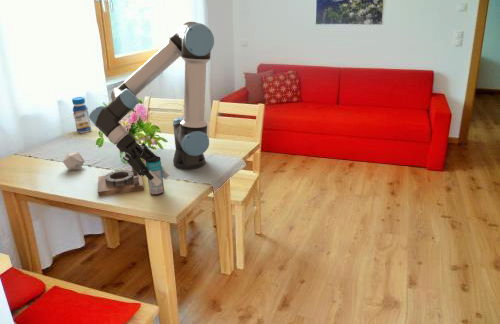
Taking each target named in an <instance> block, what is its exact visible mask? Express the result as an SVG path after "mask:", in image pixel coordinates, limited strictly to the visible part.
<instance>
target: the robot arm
mask: <svg viewBox="0 0 500 324" xmlns="http://www.w3.org/2000/svg"><path fill="white" fill-rule="evenodd" d="M214 37H215V36H214V34H213V32H212V31H211V29H210V28H209V27H208V26H207V25H205V24H203V23H200V22H195V21H188V22H184V23H183V24H182V25H180V27H179V28H177V30H175V32H174V33H173V34H171V36H169V37H168V38H167V42H166V44H164V45H163V46H161V48H160V49H159V50H158V51H157V52H156V53H154V54H153V55H152V56H151V57H150V58H149V59H148V60H146V61H145V62H144V64H143V65H142V64H141V66H140V67H138V68H137V69H136V70H135V71H134V72H133V73H132V74H131V75H130V76H129V77H128V78H127V79H125V80H124V82H122V83H121V84H120V85H118V86H116V87H114V88H113V89H112V91H111V93H110V98H111V102H109V104H107V105H106V106H105V105H98V106H96V108H94V109H93V110H92V111H91V112H90V113H89V120H90V122H92V124H93V125H94V126H95V127H96V128H97V129H98V130H99V131H100V132H101V133H102V134H103V135H105V137H107V139H108V140H109V141H111V143H112V144H113V145H114V146H116V148H117V149H118V150H119V151H120V152H121V153H124V156H123V157H122V159H123V160H124V161H125V162H127V163H128V165H129V166H130V167H131V169H132V168H133V169H134V170H135V171H136V172H137V173H138V174H139V175H140V176H142V177H146V178H147V180H148V179H149V180H151V181H152V182H153V183H154V184H155V185H156V186H158V185H159V184H160V183H161V181H160V180H159V179H158V178H157V177H156V176H155V174H154V173H153V172H152V171H151V170H150V171H149V172H148V169H147V168H146V164H145V163H144V161H145V159H146V158H148V157H151V156H157V155H156V154H155V153H154V152H153V151H152V150H151V149H149V147H148V146H147V145H146V143H144V142H142V143H141V144H139V143H138V142H136V141H137V139H136V138H135V137H134V136H133V134H131V133H129V131H128V130H127V129H126V128H125V126H123V124H122V123H120V122H121V121H122V120H123V119H124V118H125V117H127V116H126V115H128V114H129V113H130V112H131V111H132V110H133V109H135V108H136V106H137V105H138V104H139V102H140V100H139V98H138V96H137V95H139V94H140V93H141V92H142V91H143V90H144V89H146V88H147V87H148V86H149V85H150V84H151V83H153V81H155V79H156V78H158V77H159V76H160V75H161V74H162V73H163V72H165V71H166V70H167V69H168V68H169V67H170V66H171V65H173V64H174V63H175V62H176V60H178V59H179V58H182V60H183V61H184V62H185V63H184V99H183V101H184V102H183V116H177V117H175V118H173V120H172V127H173V133H174V145H175V152H174V156H173V159H172V163H173V167H175V169H180V170H195V169H198V168H202V167H203V166H204V165H205V164H206V158H205V155H204V153H206V151H208V149H209V146H210V137H209V136H208V122H207V121H206V120H205V109H206V108H205V104H206V85H207V84H206V81H207V80H206V79H207V63H208V62H210V60H211V55H212V53H211V52H212V50H213V48H214V45H215V38H214ZM142 159H143V160H144V161H143V160H142ZM161 167H162V176H163V180H166V179H168V178H169V176H170V174H169V173H168V172H167V171H166V170H165V168H164V167H163V166H162V165H161ZM140 171H141V172H140Z"/></svg>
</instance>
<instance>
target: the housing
mask: <svg viewBox="0 0 500 324" xmlns="http://www.w3.org/2000/svg"><path fill="white" fill-rule="evenodd" d="M140 172H141V171H140ZM142 177H143V176H142V175H141V176H140V175H139V174H138V173H137V172H136V171H135V170H134V169H133V168H132V167H131V170H129V169H119V170H114V171H111V172H109V173H107V174H105V175H98V177H97V178H98V179H97V196H98V197H105V196H109V195H117V194H123V193H130V192H137V191H142V190H144V183H143V178H142Z"/></svg>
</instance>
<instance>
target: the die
mask: <svg viewBox="0 0 500 324" xmlns="http://www.w3.org/2000/svg"><path fill="white" fill-rule="evenodd" d="M85 160H86V159H84V157H83V156H82V155H81V152H68V153H67V154H66V155H65V157H64V159H63V161H62V163H63V164H64V165H65V167H66V168H67V170H68V171H80V170H81V169H82V167H83V165H84V163H85Z"/></svg>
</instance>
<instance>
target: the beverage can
mask: <svg viewBox="0 0 500 324" xmlns="http://www.w3.org/2000/svg"><path fill="white" fill-rule="evenodd" d="M144 161H145V166H146V168H147V169H148V172H149V171H150V170H151V171H152V172H153V173H154V174H155V176H156V177H157V178H158V179H159V180H160V181H161V183H160V184H159V185H158V186H156V185H155V184H154V183H153V182H152V181H151V180H149V179H148V178H147V183H148V184H147V185H148V188H149V189H148V191H149V194H150V195H152V196H159V195H162V194H164V191H165V187H164V178H163V176H162V167H163V166H162V162H161V157H160V156H157V155H156V156H151V157H148V158H146V159H145V160H144ZM161 166H162V167H161Z"/></svg>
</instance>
